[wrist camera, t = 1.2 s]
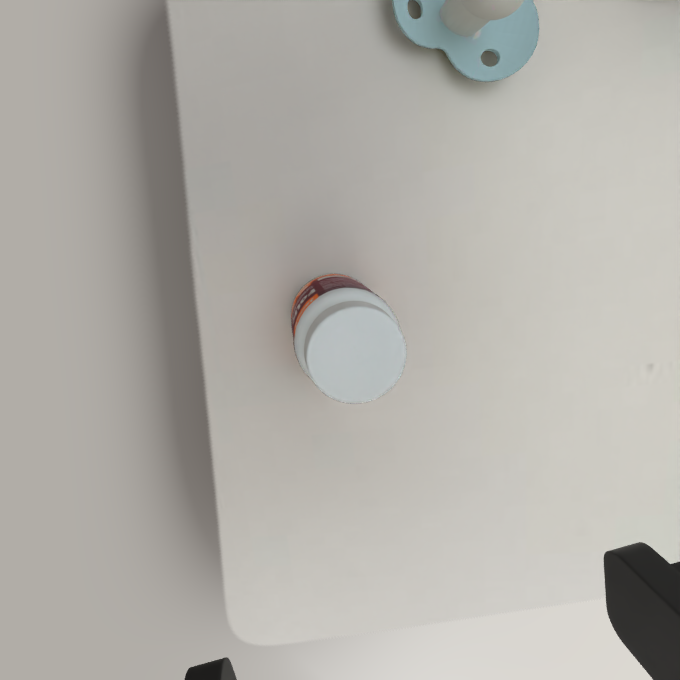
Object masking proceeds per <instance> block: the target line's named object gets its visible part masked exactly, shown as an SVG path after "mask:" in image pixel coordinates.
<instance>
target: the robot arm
mask: <svg viewBox="0 0 680 680" xmlns="http://www.w3.org/2000/svg"><path fill="white" fill-rule="evenodd" d="M604 572H605V589H606V604H607V612H608V615H609V618H610V621H611V623H612V626H613V628H614V630H615V631H616V633H617V635H618V636H619V638H620V639H621V640H622V642H623V643H624V644H625V646H626V647H627V648H628V649H629V650H630V652H631V653H632V654H633V656H634V657H635V658H636V659H637V660H638V662H640V664H641V665H642V666H643V668H644V669H645V670H646V671H647V672H648V674H649V675H650V676H651V677H652V679H653V680H680V562H677V563H673V564H669V563H668V562H667V561H666V560H665V559H664V558H663V557H661V556H660V555H659V554H658V553H657V552H656V551H654V550H653V549H652V548H651V547H650V546H648V545H647V544H645V543H641V542H639V543H635V544H632V545H628V546H625V547H621V548H618V549H614V550H611V551H607V552H606V553H605V554H604ZM185 680H237V679H236V676H235V673H234V671H233V667H232V665H231V662H230V660H229V659H228V658H223V659H219V660H215V661H212V662H208V663H205V664H201V665H198V666H194V667H191V668H189V669H188V671H187V673H186V677H185Z"/></svg>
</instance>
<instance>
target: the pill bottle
mask: <svg viewBox="0 0 680 680" xmlns="http://www.w3.org/2000/svg"><path fill="white" fill-rule="evenodd" d="M291 322H292V333H293V340H294V350H295V353H296V357H297V359H298V362H299V364H300V366H301V368H302V369H303V371H304V372H305V373H306V374H307V375H308V377H309V378H311V379H312V381H313V382H314V384H315V385H316V386H317V387H318V388H319V390H321V391H322V392H323V393H324V394H325V395H327V396H328V397H330V398H332V399H334V400H336V401H339V402H343V403H350V404H359V403H365V402H369V401H372V400H374V399H377V398H379V397H381V396H382V395H384V394H385V393H387V392H388V391H389V390H390V389H391V388H392V387H393V386H394V385H395V384H396V383H397V381H398V380H399V378H400V376H401V374H402V372H403V369H404V367H405V362H406V356H407V349H406V343H405V339H404V336H403V334H402V332H401V330H400V326H399V323H398V320H397V318H396V316H395V314H394V312H393V311H392V309H391V308H390V307H389V305H388V304H387V303H386V302H385V301H384V300H383V299H382V298H380V297H379V296H378V295H376V294H374V293H373V292H372V291H371V290H369V289H368V288H367V287H365V286H364V285H363V284H362V283H360V282H358V281H357V280H355V279H353V278H351V277H349V276H346V275H342V274H326V275H322V276H319V277H316V278H314V279H312V280H311V281H309V282H308V283H307V284H305V285H304V286H303V287H302V288H301V290H300V291H299V292H298V294H297V296H296V297H295V299H294V302H293V305H292V310H291Z"/></svg>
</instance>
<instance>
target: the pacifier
mask: <svg viewBox="0 0 680 680" xmlns="http://www.w3.org/2000/svg"><path fill="white" fill-rule="evenodd" d="M408 1H410V0H392V5H393V11H394V15H395V18H396V21H397V23H398V25H399V27H400V29H401V30H402V32H403V33H404V35H405V36H406V37H407V38H408V39H409V40H410V41H412V42H413V43H414V44H417V45H419V46H421V47H425V48H429V49H431V48H438V49H441V50H443V51H444V52H445V53H446V54H447V57H448V59H449V60H450V62H451V64H452V65H453V66H454V67H455V68H456V70H458V71H459V72H460V73H461V74H462V75H464V76H466V77H468V78H470V79H472V80H476V81H481V82H491V81H498V80H501V79H503V78H506V77H508V76H510V75H512V74H514V73H515V72H517V71H518V70H520V69H521V68H522V67H523V66H524V65H525V64H526V63H527V61H528V60H529V58H530V57H531V56H532V54H533V52H534V50H535V48H536V44H537V41H538V34H539V23H538V22H539V19H538V13H537V9H536V7H535V5H534V3H533V0H415V1H416V2H418V4H419V5H420V8H421V16H420V18H419V19H413V18H412V17H411V16H410V15H409V13H408V9H407V4H408ZM485 51H492V52H494V53H495V54H496V56H497V64H496V65H495V66H493V67H488V66H485V65H484V64H483V63H482V61H481V55H482V53H483V52H485Z"/></svg>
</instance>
